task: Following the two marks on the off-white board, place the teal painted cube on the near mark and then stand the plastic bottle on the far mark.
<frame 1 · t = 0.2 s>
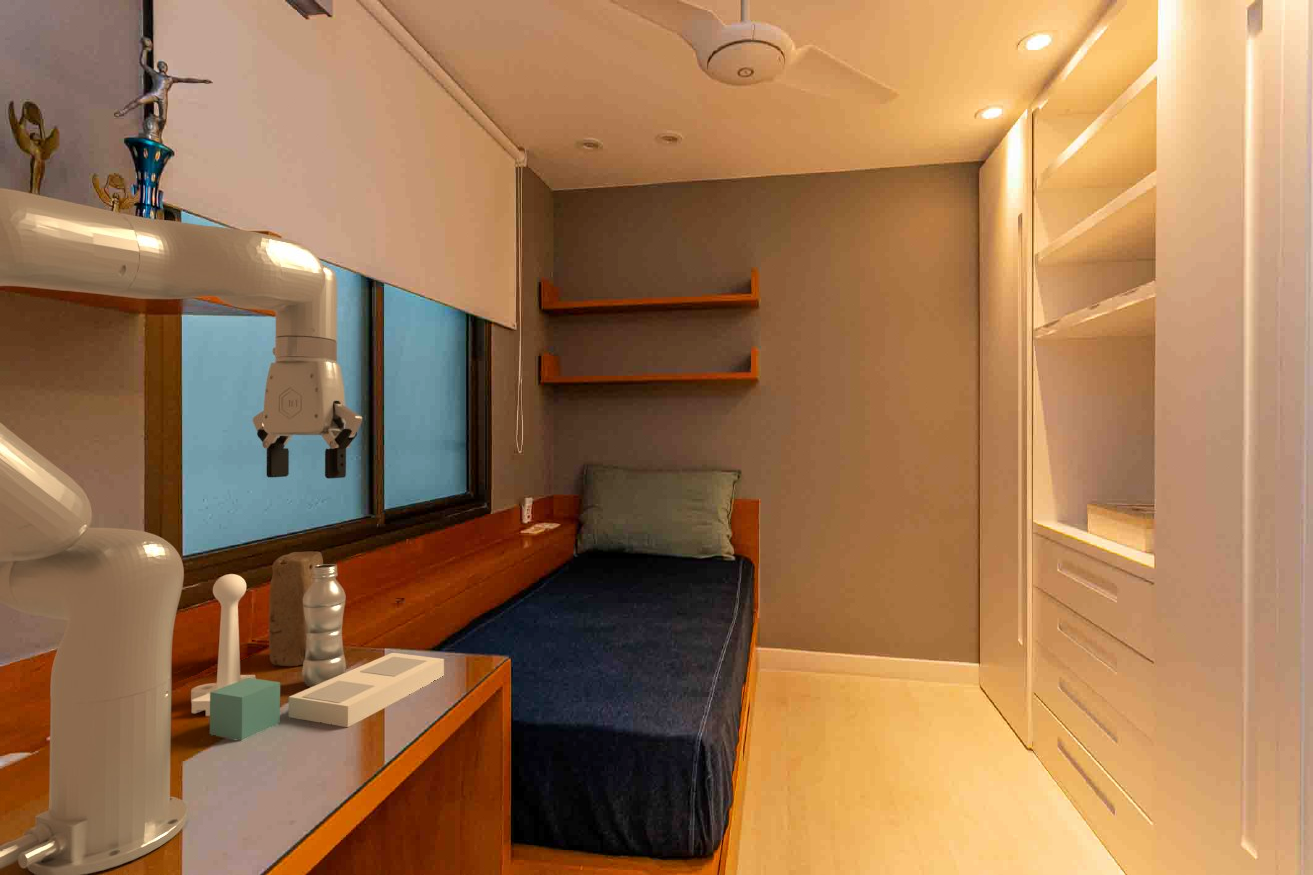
hand: (306, 477, 90), 36 cm above the table, tool pointing down, fingers open, 9 cm apart
cube: (245, 729, 93), on the table
block: (299, 660, 123), on the table
board: (372, 694, 106), on the table
joystick: (218, 702, 103), on the table
plastic bottle: (324, 686, 110), on the table
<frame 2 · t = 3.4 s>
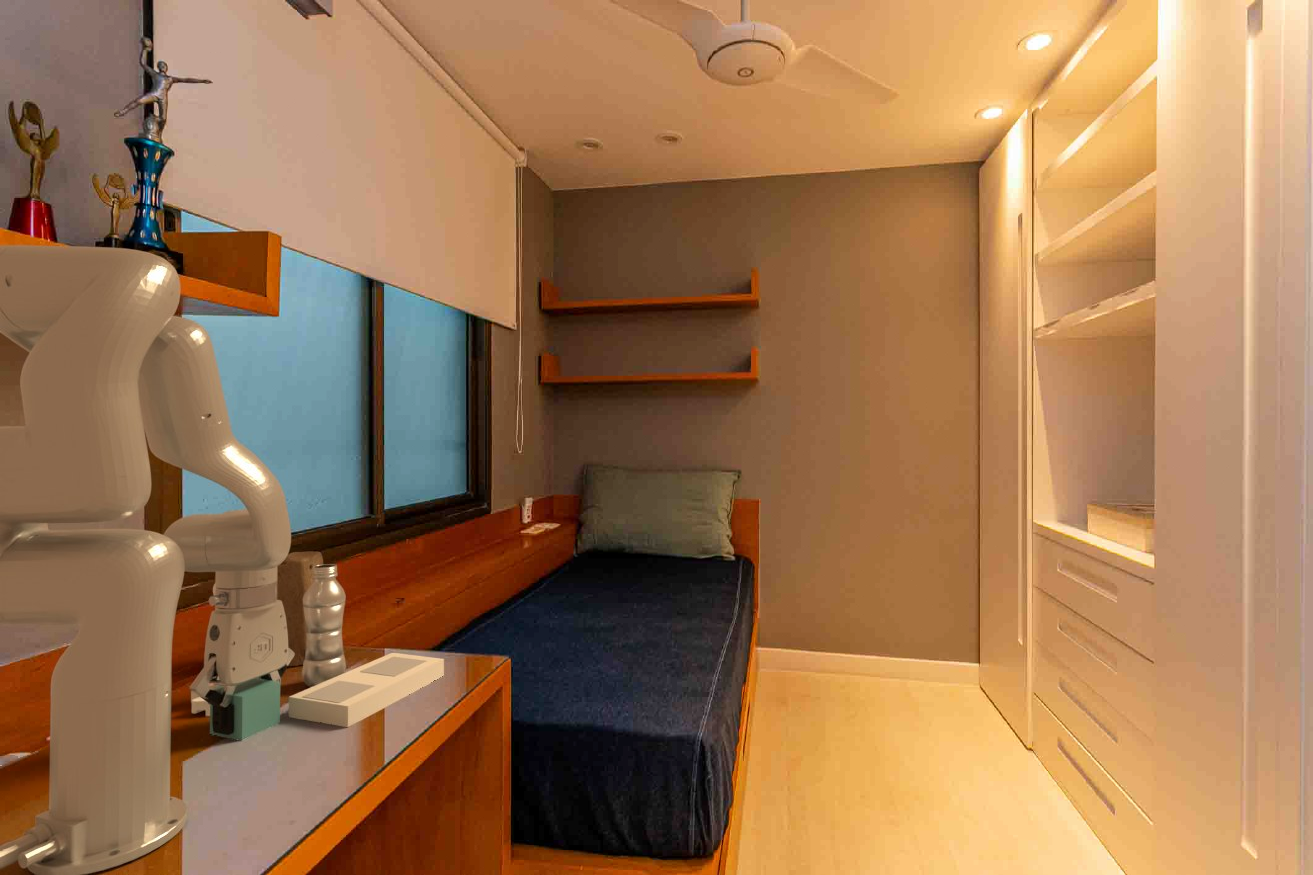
hand: (245, 721, 93), 1 cm above the table, tool pointing down, fingers closed on cube, 6 cm apart
cube: (245, 728, 93), on the table, touching gripper
everything else where it was.
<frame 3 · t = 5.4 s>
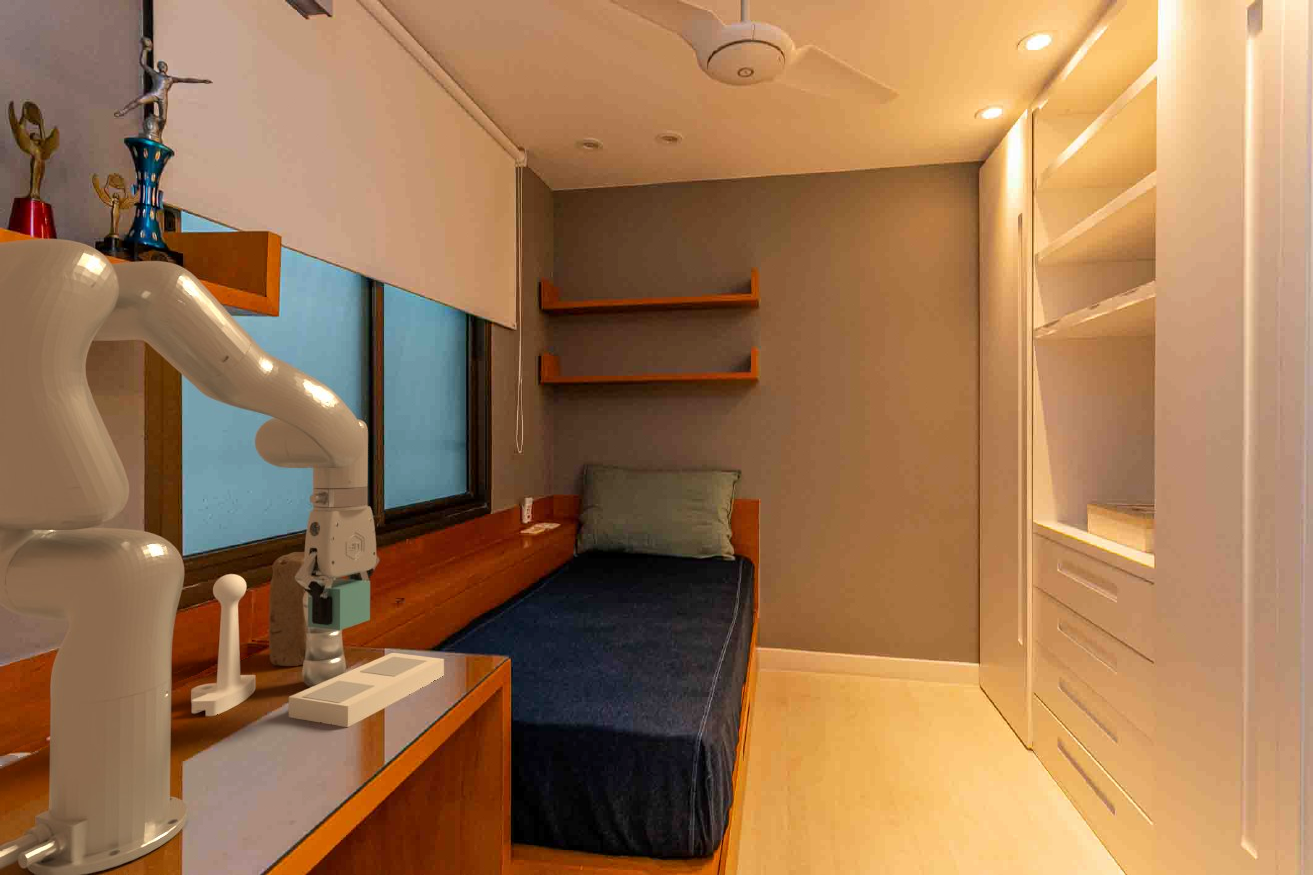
hand: (339, 616, 99), 14 cm above the table, tool pointing down, fingers closed on cube, 6 cm apart
cube: (339, 623, 99), point 13 cm above the table, touching gripper
everything else where it was.
when the fingers open (5 cm above the table, at t = 7.5 s): cube stays where it is, resting on board.
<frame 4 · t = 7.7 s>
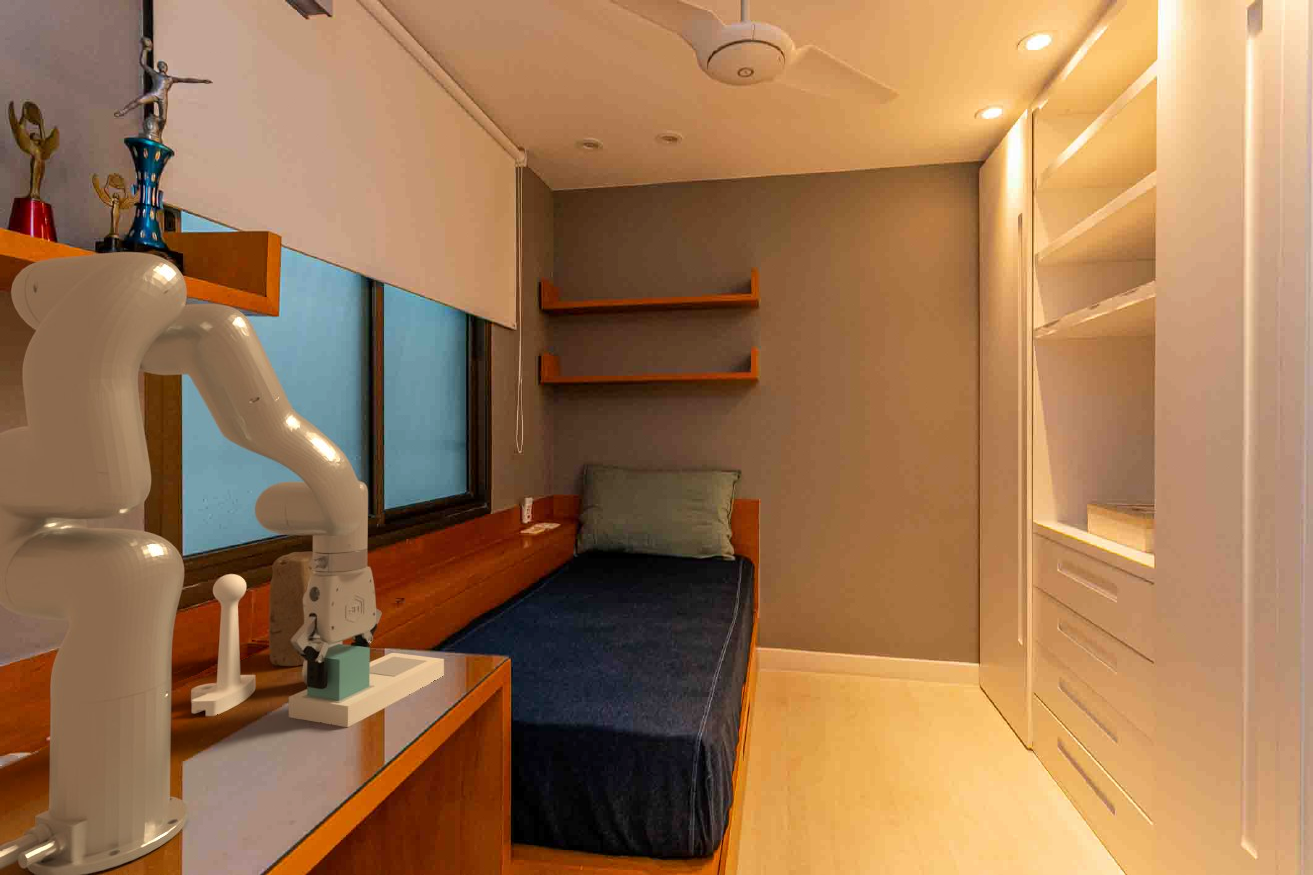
hand: (339, 677, 99), 5 cm above the table, tool pointing down, fingers open, 7 cm apart
cube: (338, 691, 99), point 3 cm above the table, touching board
everything else where it was.
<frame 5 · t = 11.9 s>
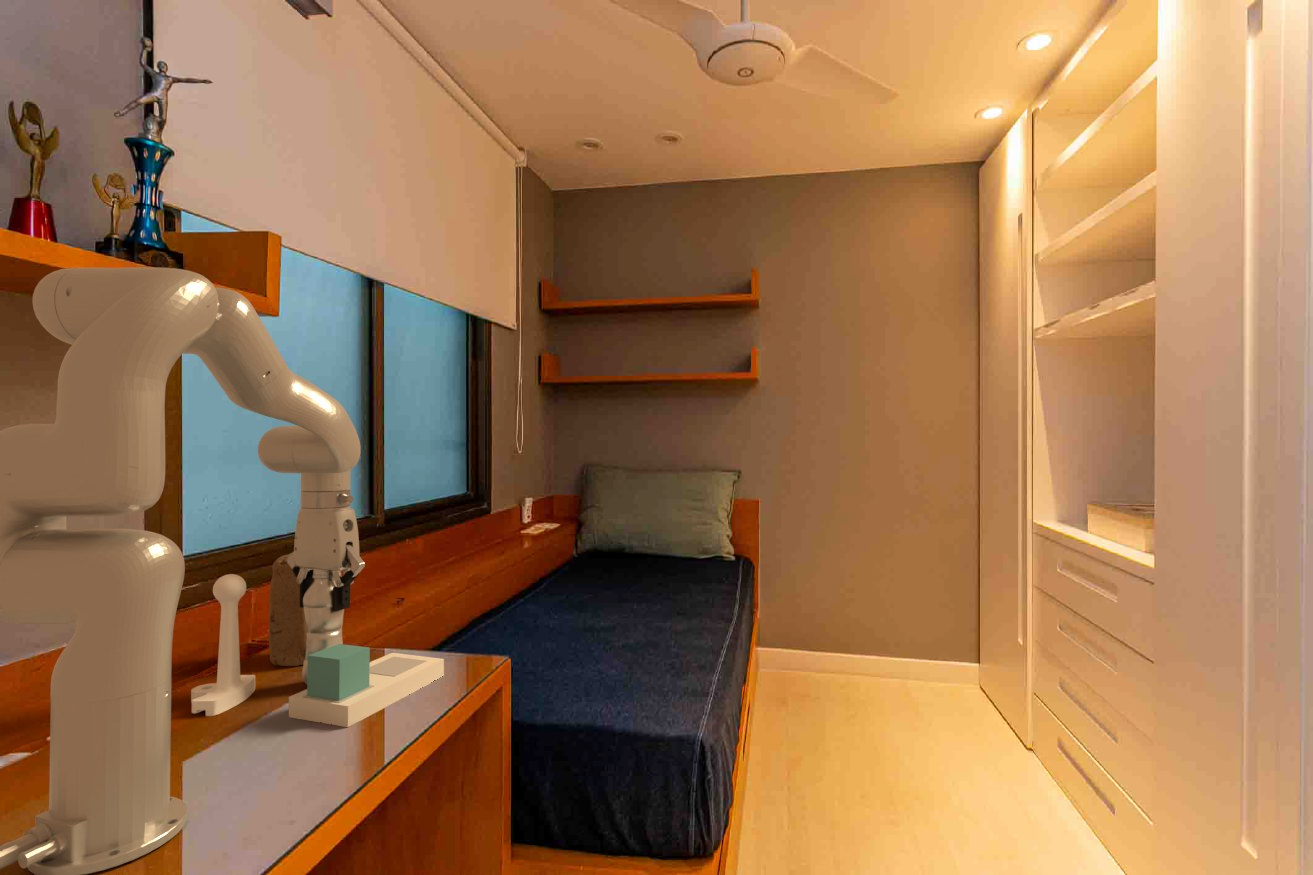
hand: (324, 606, 110), 13 cm above the table, tool pointing down, fingers closed on plastic bottle, 6 cm apart
plastic bottle: (324, 685, 110), on the table, touching gripper
everything else where it was.
when the fingers open (17 cm above the table, at t = 15.8 s): plastic bottle stays where it is, resting on board.
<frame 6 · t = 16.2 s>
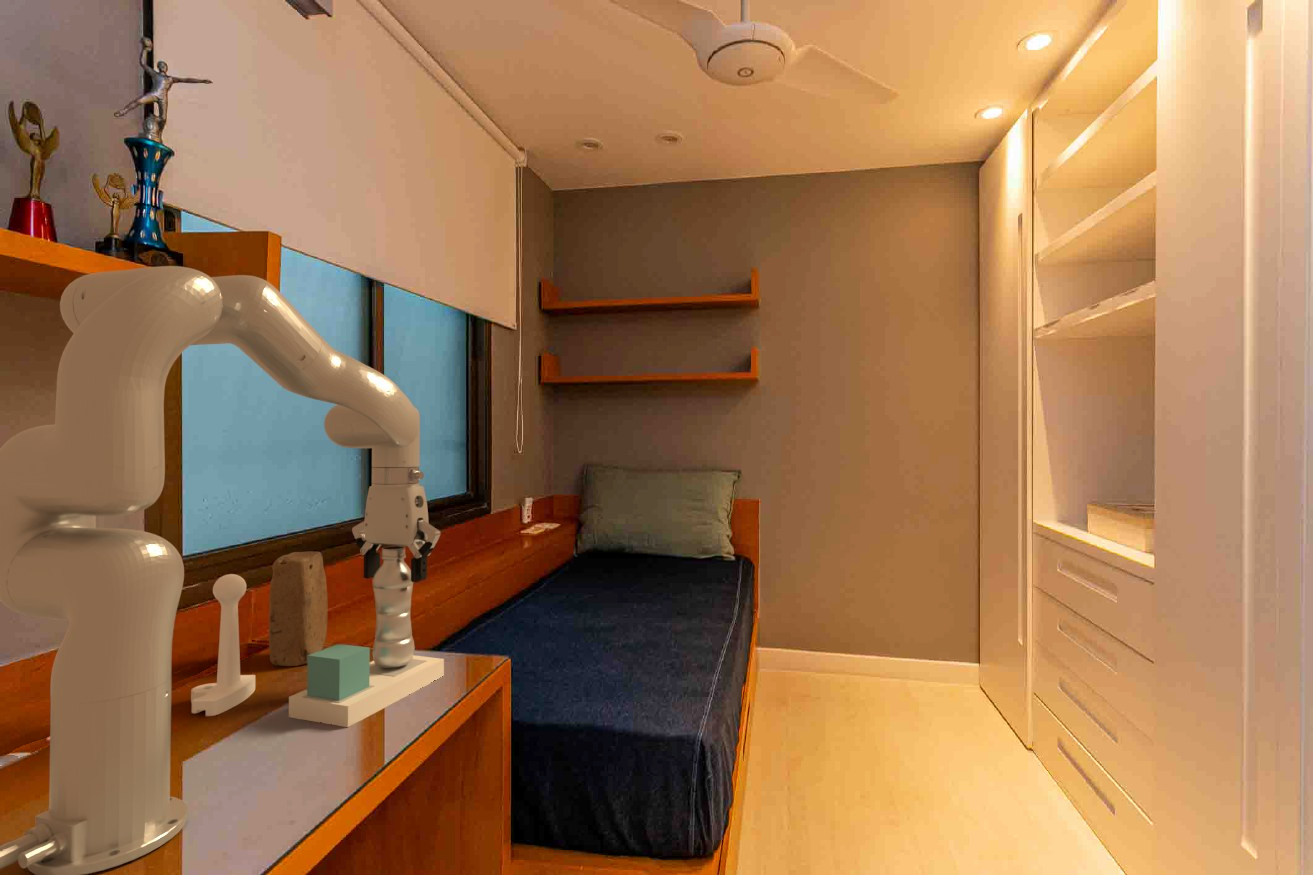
hand: (395, 578, 111), 18 cm above the table, tool pointing down, fingers open, 9 cm apart
plastic bottle: (393, 667, 110), point 3 cm above the table, touching board
everything else where it was.
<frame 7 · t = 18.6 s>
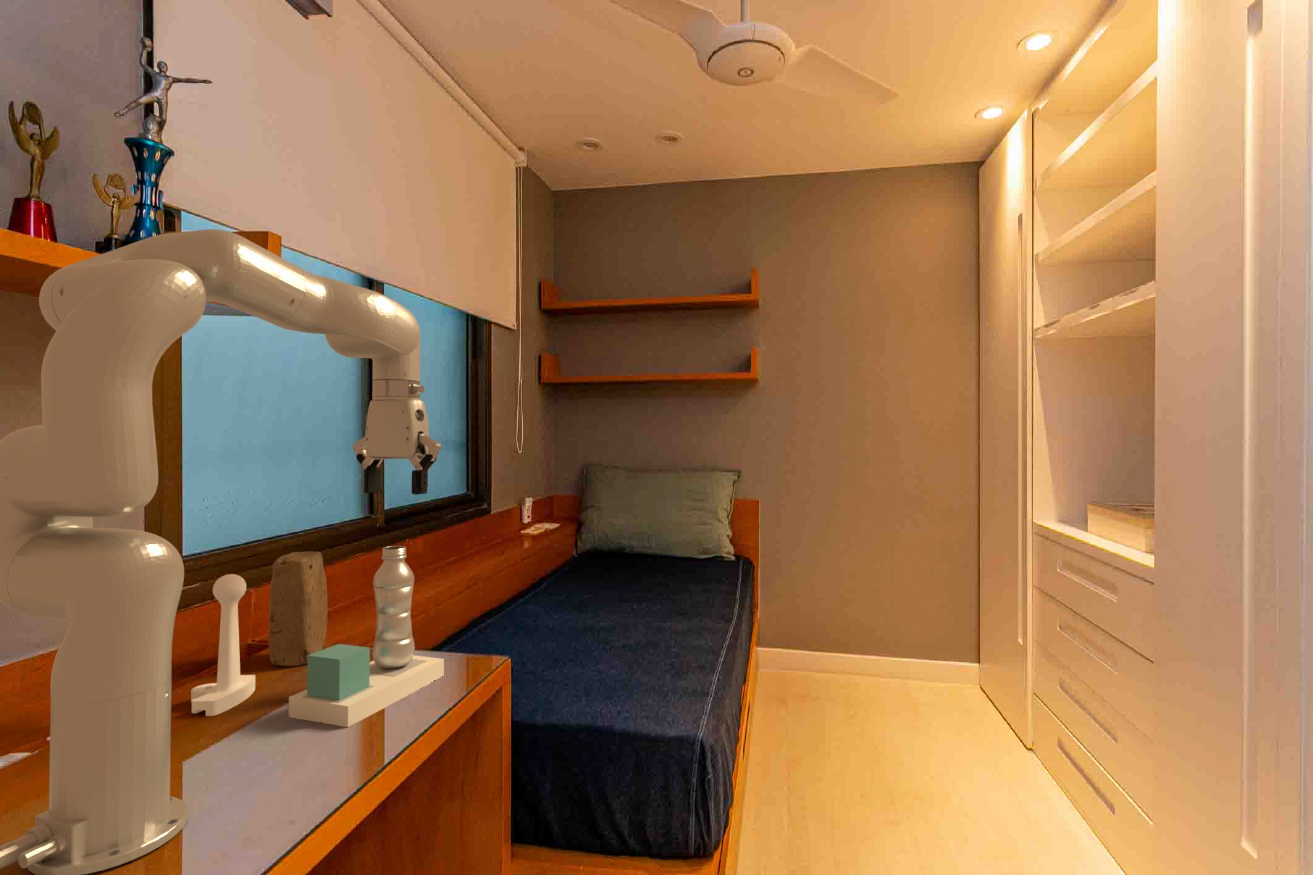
hand: (395, 493, 111), 32 cm above the table, tool pointing down, fingers open, 9 cm apart
nothing on the table moved.
at the end: cube inside the target area on the board (0.0 cm from its centre), point 3.1 cm above the board's base; plastic bottle inside the target area (0.2 cm from its centre), point 2.9 cm above the table; plastic bottle tilted 0° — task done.
